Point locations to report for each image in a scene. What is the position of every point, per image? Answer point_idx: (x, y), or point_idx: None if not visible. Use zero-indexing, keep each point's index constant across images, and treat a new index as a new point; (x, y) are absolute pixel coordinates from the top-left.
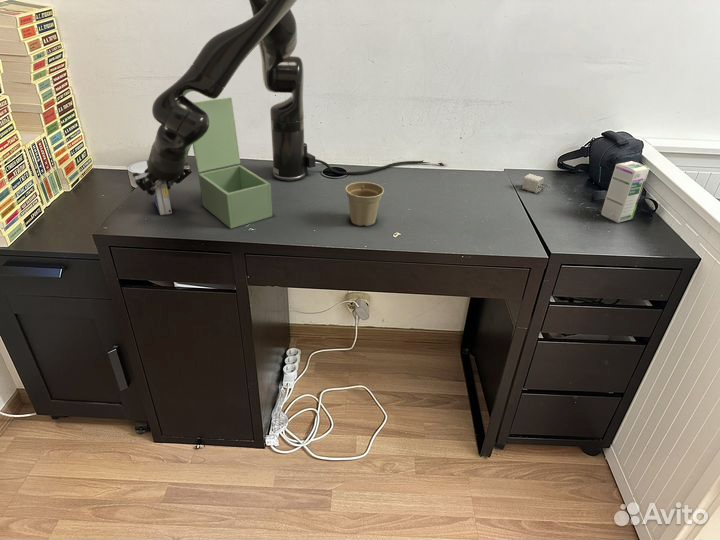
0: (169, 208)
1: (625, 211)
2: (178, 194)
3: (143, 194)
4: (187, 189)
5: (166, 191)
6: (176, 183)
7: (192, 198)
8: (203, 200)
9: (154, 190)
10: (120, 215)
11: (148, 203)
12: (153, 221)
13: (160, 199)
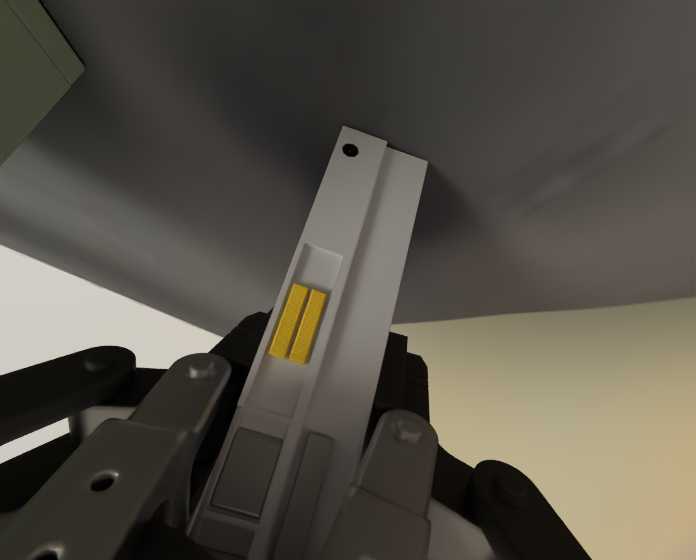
0: (341, 168)
1: None
2: (244, 251)
3: None
4: (202, 253)
5: (282, 327)
6: (133, 357)
7: (177, 192)
8: (19, 77)
9: (382, 385)
10: (590, 296)
11: None
12: (563, 113)
13: (375, 277)
